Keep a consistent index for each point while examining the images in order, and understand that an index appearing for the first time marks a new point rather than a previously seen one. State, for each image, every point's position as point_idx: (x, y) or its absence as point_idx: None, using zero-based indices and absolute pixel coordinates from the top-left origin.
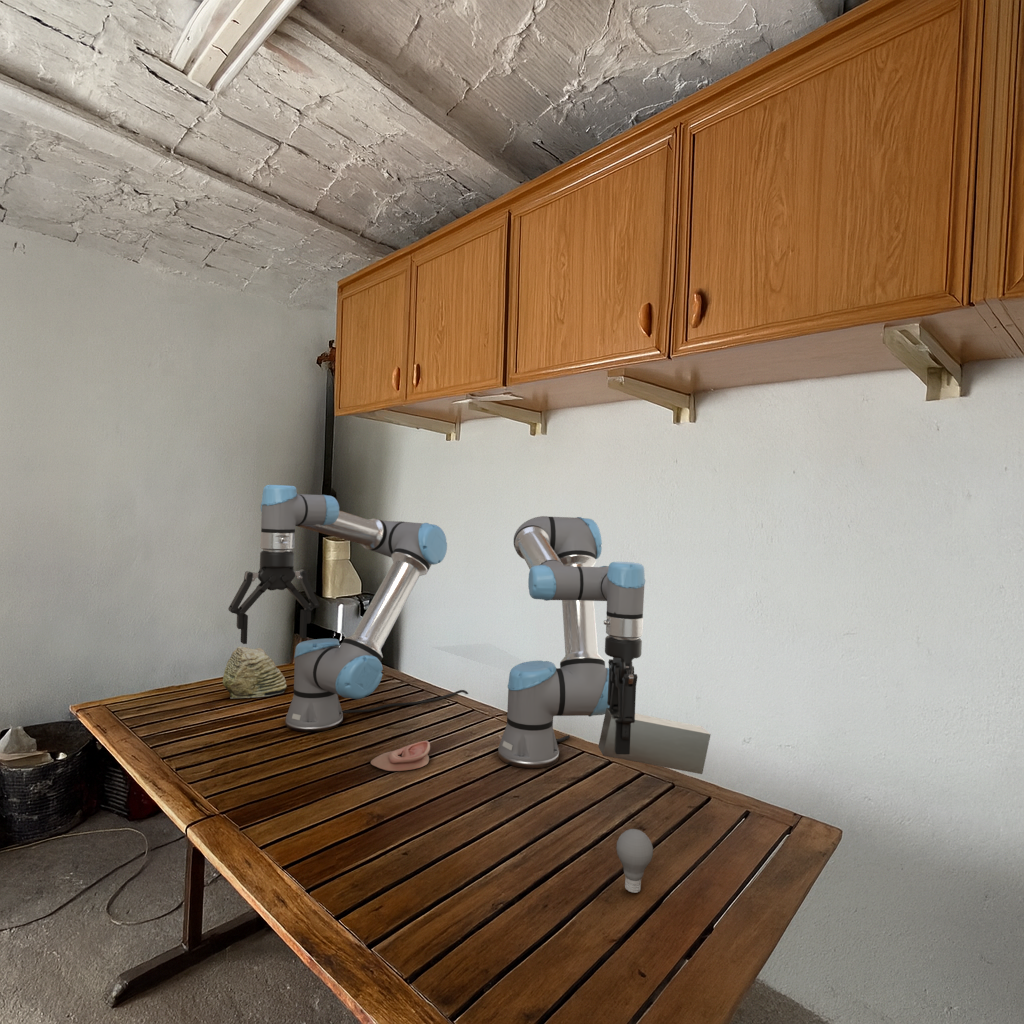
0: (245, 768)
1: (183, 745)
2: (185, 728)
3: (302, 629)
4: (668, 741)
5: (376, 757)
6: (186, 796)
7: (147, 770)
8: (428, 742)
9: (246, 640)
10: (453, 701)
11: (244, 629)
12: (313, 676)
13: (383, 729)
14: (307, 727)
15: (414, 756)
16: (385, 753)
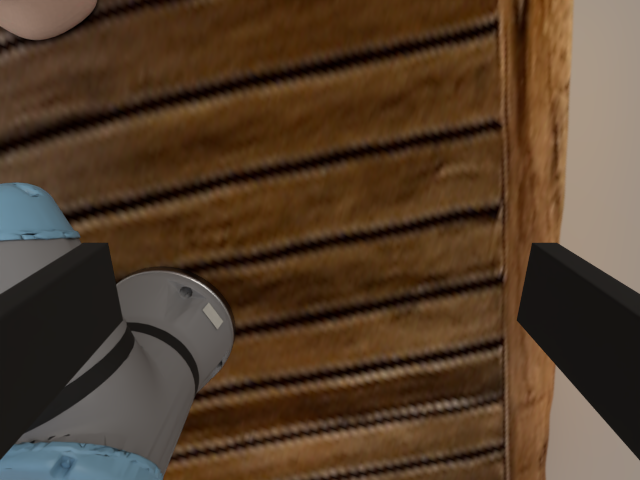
0: (377, 143)
1: (448, 326)
2: (419, 406)
3: (73, 297)
4: None
5: (73, 3)
6: (526, 56)
7: (544, 234)
8: None
9: (550, 252)
10: None
11: (635, 297)
12: (131, 348)
13: None
14: (196, 281)
15: None
16: (43, 2)
